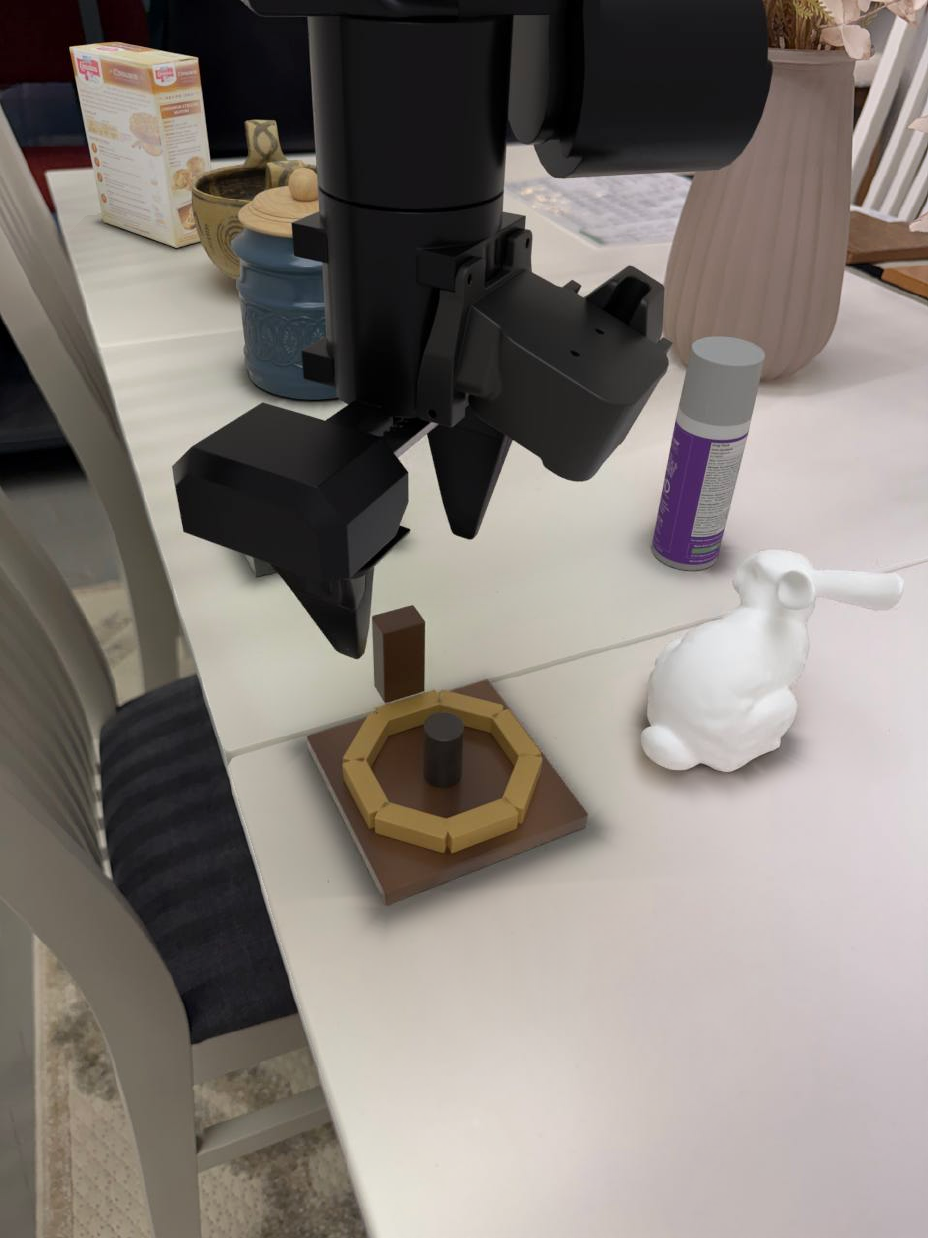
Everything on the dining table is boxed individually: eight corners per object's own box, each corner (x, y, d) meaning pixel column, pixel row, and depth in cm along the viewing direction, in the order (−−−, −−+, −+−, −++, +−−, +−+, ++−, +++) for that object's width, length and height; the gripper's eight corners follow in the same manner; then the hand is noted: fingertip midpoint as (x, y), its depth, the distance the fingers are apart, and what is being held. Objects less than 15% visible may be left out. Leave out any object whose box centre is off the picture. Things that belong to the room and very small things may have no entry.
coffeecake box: (222, 236, 118) (200, 56, 106) (175, 249, 114) (147, 63, 101) (147, 211, 125) (119, 39, 113) (101, 222, 121) (65, 45, 109)
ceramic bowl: (377, 316, 100) (373, 161, 90) (212, 329, 96) (190, 168, 86) (339, 248, 116) (332, 111, 107) (196, 256, 112) (176, 115, 103)
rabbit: (721, 650, 59) (766, 484, 52) (859, 732, 54) (932, 560, 46) (595, 745, 53) (626, 569, 45) (738, 848, 47) (800, 669, 40)
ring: (393, 876, 44) (391, 788, 40) (313, 720, 52) (304, 633, 48) (569, 809, 48) (583, 721, 44) (469, 672, 55) (474, 587, 51)
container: (638, 540, 68) (674, 340, 59) (693, 528, 70) (737, 331, 61) (674, 576, 65) (718, 371, 56) (731, 562, 67) (783, 360, 57)
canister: (251, 344, 93) (229, 148, 82) (384, 343, 94) (380, 149, 83) (240, 404, 83) (214, 189, 72) (389, 402, 84) (385, 191, 73)
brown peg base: (385, 906, 44) (383, 845, 41) (307, 748, 52) (301, 687, 49) (586, 827, 48) (597, 766, 45) (486, 691, 56) (490, 631, 53)
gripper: (518, 346, 20) (484, 825, 30) (748, 161, 33) (671, 536, 43) (115, 249, 24) (202, 701, 33) (464, 118, 37) (453, 471, 46)
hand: (411, 590), depth 39 cm, fingers open, 9 cm apart
